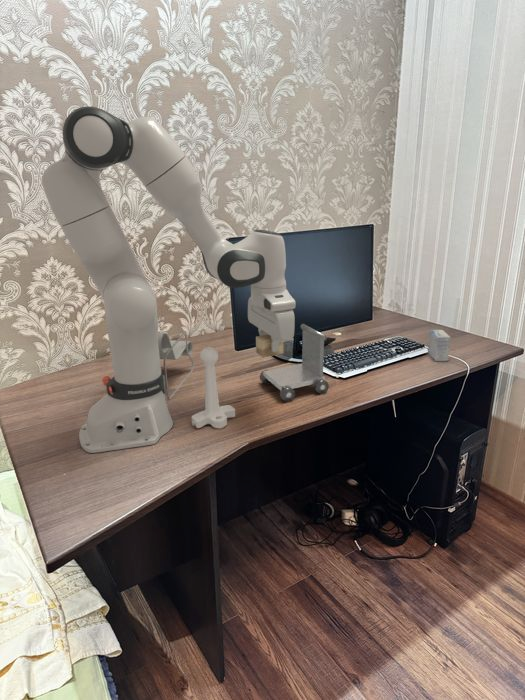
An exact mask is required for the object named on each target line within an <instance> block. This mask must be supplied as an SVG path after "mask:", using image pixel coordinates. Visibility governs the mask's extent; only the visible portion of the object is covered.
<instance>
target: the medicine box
mask: <svg viewBox="0 0 525 700" xmlns="http://www.w3.org/2000/svg"><path fill="white" fill-rule="evenodd" d="M450 345H451V336H450V334H448V333H447V332H446V331H444V330H443V329H431V330H429V336H428V347H427V354H428V355H429V356H430V357H431V358H432V359H433V361H435V362H448V360H449V355H450V347H451V346H450Z"/></svg>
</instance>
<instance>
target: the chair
mask: <svg viewBox="0 0 525 700" xmlns="http://www.w3.org/2000/svg"><path fill="white" fill-rule="evenodd" d="M187 334H188V333H187V332H186V331H184V332H182V334H181V335H180V336H179V337H178V339H176V340H171V339H170V338H169V335H168V333H167V332H161V331H160V332H159V331H158V346H159V356H160V360H163V371H164V374H163V376H164V381H165V391H166V396H167V399H168V400H172V398H173V397H174V396H173V395H175V394H176V393H177V392H178V391H179V389H180V388H181V387H182V386H183V385H184V383H185V382H184V381H187V379H188V378H189V377H190V375H191V374H192V373H193V372H194V367H195V364H194V360H193V358H192V357H191V355H192V354H193V343H192V341H190V340H188V335H187ZM184 336H185V340H181V339H182V338H183V337H184ZM181 356H187V357H188V358H189V359H190V361H191V370H190V371H189V373H188V374H187V375H186V376H185V378H184V379H183V380H182V381H181V382H180V383H179V385H178V386H177V388H176V389H175V390H174V391H173V393H172V394H171V395H170V393H169V385H168V375H167V364H166V363H167V362H166V360H168V361H169V360H170V361H171V360H173V361H177V360H178V359H180V357H181ZM192 371H193V372H192ZM188 376H189V377H188ZM183 382H184V383H183ZM181 385H182V386H181ZM180 386H181V387H180ZM179 387H180V388H179ZM177 390H178V391H177ZM176 391H177V392H176Z"/></svg>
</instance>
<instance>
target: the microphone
mask: <svg viewBox="0 0 525 700" xmlns="http://www.w3.org/2000/svg"><path fill="white" fill-rule="evenodd" d="M336 339H337V338H336V337H327V339H326V340H325V341H324V346H326V345H328V344H331V343H332V342H334V341H336Z"/></svg>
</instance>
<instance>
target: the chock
mask: <svg viewBox="0 0 525 700" xmlns="http://www.w3.org/2000/svg"><path fill="white" fill-rule="evenodd" d="M271 343H272V339H271V336H270V335H269V334H267V335H263V336H260V335H259V336H255V352H256V354H258V355H259V356H260V357H261V358H268V357H272V356H278V355H282V354H285V353H284V342H280V343H279V349H278V351H276V352H273V351H271V350H270V344H271Z"/></svg>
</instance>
